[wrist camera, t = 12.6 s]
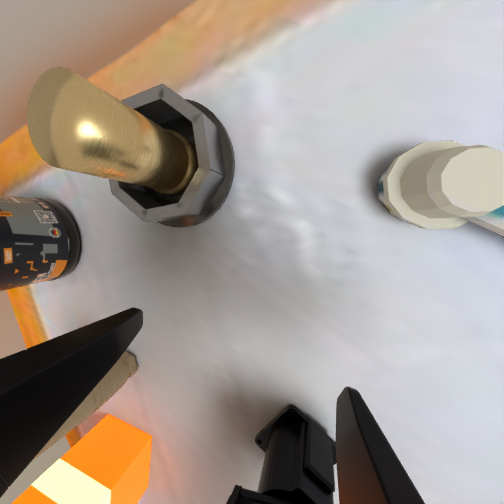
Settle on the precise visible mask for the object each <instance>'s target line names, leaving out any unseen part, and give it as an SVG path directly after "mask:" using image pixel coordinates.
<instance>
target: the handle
mask: <svg viewBox="0 0 504 504" xmlns="http://www.w3.org/2000/svg"><path fill="white" fill-rule="evenodd" d="M135 359H136V358H135V356H134V355H131V354H129V353H128V352H124V353H123V355H122V356H121V357H120V359H119V360H118V361H117V362H116V364H115V365H114V366H113V367H112V368H111V369H110V371H109V372H108V373H107V374H106V375H105V376H104V378H103V379H102V380H101V381H100V382H99V383H98V385H97V386H96V387H95V388H94V389H93V390H92V391H91V393H90V394H89V395H88V396H87V397H86V398H85V400H84V401H83V402H82V403H81V404H80V405H79V407H78V408H77V409H76V410H75V411H74V412H73V414H72V415H71V416H70V417H69V418H68V419H67V421H66V422H65V423H64V424H63V425H62V426H61V427H60V429H59V430H58V431H57V432H56V433H55V434H54V436H53V437H52V438H51V439H50V440H49V441H48V443H47V444H46V445H45V446H44V447H43V448H42V450H41V451H40V452H39V453H38V454H37V455H36V457H38V456H39V455H40V454H42V453H43V452H44V451H45V450H47V449H48V448H49V447H51V446H52V445H53V444H54V443H56V442H57V441H58V440H59V439H61V438H62V437H63V436H65V435H66V434H67V433H68V432H70V431H71V430H72V429H74V428H75V427H76V426H77V425H79V424H80V423H81V422H82V421H84V420H85V419H86V418H88V417H89V416H90V415H91V414H92V413H94V412H95V411H96V410H97V409H98V408H99V407H101V406H102V405H103V404H104V403H105V402H106V401H107V400H109V399H110V397H112V396H113V395H114V394H115V393H116V392H117V391H118V390H119V389H120V388H121V387H122V386H123V385H124V383H125V382H126V381H127V379H128V378H129V377H131V376H132V375H133V374H134V373H135V372H136V371H137V369H138V366H137V364H136V360H135ZM36 457H35V458H36ZM35 458H34V459H35ZM34 459H33V460H34ZM33 460H32V461H33ZM32 461H31V462H32Z"/></svg>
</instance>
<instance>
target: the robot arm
mask: <svg viewBox="0 0 504 504" xmlns="http://www.w3.org/2000/svg"><path fill="white" fill-rule="evenodd" d="M142 325H143V312H142V310H140V309H137V308H130V309H127V310H125V311H122V312H120V313H117V314H115V315H112V316H110V317H107V318H104V319H102V320H99V321H97V322H94V323H92V324H89V325H87V326H84V327H81V328H79V329H76V330H74V331H71V332H69V333H66V334H64V335H61V336H59V337H56V338H53V339H51V340H48V341H46V342H43V343H41V344H38V345H36V346H33V347H30V348H28V349H27V350H23V351H20V352H18V353H15V354H12V355H10V356H7V357H5V358H2V359H0V497H1V496H2V495H3V494H4V493H5V492H6V490H7V489H8V487H9V486H10V485H11V484H12V483H13V482H14V481H15V480H16V479H17V477H18V476H19V475H20V474H21V473H22V472H23V470H24V469H25V468H26V467H27V466H28V465H29V463H30V462H31V461H32V460H33V459H34V458H35V457H36V455H37V454H38V453H39V452H40V451H41V450H42V448H43V447H44V446H45V445H46V444H47V443H48V441H49V440H50V439H51V438H52V437H53V436H54V434H55V433H56V432H57V431H58V430H59V429H60V427H61V426H62V425H63V424H64V423H65V422H66V421H67V419H68V418H69V417H70V416H71V415H72V414H73V412H74V411H75V410H76V409H77V408H78V407H79V405H80V404H81V403H82V402H83V401H84V400H85V398H86V397H87V396H88V395H89V394H90V393H91V391H92V390H93V389H94V388H95V387H96V386H97V385H98V383H99V382H100V381H101V380H102V379H103V378H104V376H105V375H106V374H107V373H108V372H109V371H110V369H111V368H112V367H113V366H114V365H115V364H116V362H117V361H118V360H119V359H120V357H121V356H122V355H123V353H124V352H125V350H126V349H127V348H128V346H129V345H130V343H131V342H132V341H133V339H134V338H135V336H136V335H137V334H138V332H139V331H140V329H141V328H142ZM291 411H293V412H291ZM255 442H256V444H257V445H258V446H259V447H260V448H261V449H262V450H263V451H264V452H265V453H266V454H265V459H264V463H263V468H262V473H261V478H260V482H259V487H258V492H255V491H251V490H247V489H244V488H242V486H238V485H235V487H234V490H233V492H232V494H231V496H230V497H229V499H228V501H227V503H226V504H334V502H333V492H334V491H335V482H334V468H333V465H334V464H336V463H337V475H338V489H339V502H340V504H425V503H424V501H423V499H422V498H421V496H420V494H419V493H418V491H417V489H416V488H415V486H414V484H413V483H412V481H411V479H410V478H409V476H408V474H407V473H406V471H405V469H404V467H403V466H402V464H401V462H400V461H399V459H398V457H397V456H396V454H395V452H394V451H393V449H392V447H391V446H390V444H389V442H388V440H387V439H386V437H385V435H384V434H383V432H382V430H381V429H380V427H379V425H378V424H377V422H376V420H375V419H374V417H373V415H372V414H371V412H370V410H369V408H368V407H367V405H366V403H365V402H364V400H363V398H362V397H361V395H360V393H359V392H358V391H357V390H356V389H353V388H351V387H345V388H344V390H343V391H342V392H341V394H340V395H339V397H338V399H337V407H336V444H335V443H334V442H333V441H332V440H331V439H330V438H329V437H328V436H327V435H325V434H324V433H323V432H322V431H321V430H320V429H319V428H318V427H317V426H316V425H315V424H313V423H312V422H311V421H310V420H309V419H308V418H307V417H306V416H305V415H304V414H303V413H301V412H300V411H299V410H298V409H297V408H296V407H295V406H292V405H290V406H288V407H287V408H286V409H285V410H284V411H283V412H282V413H280V414H279V415H278V416H277V417H276V418H275V419H274V420H273V421H272V422H271V423H269V424H268V425H267V426H266V427H265V428H264V429H263V430H262V431H261V432H260V433H258V434H257V436H256V439H255Z"/></svg>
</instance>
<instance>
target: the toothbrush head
mask: <svg viewBox="0 0 504 504" xmlns="http://www.w3.org/2000/svg"><path fill="white" fill-rule="evenodd" d="M377 185H378V196H379V200H381V201H382V202H383V203H384V205H385V206H386V207H387V208H388V210H389V211H390V212H391V213H390V214H391V215H394V216H396V217H398V218H399V219H401V220H404V221H406V222H408V223H411V224H413V225H415V226H418V227H420V228H424V229H449V228H457V227H459V226H461V225H463V224H465V223H467V222H469V221H471V222H473V223H475V224H477V225H480V226H482V227H484V228H486V229H489V230H491V231H493V232H495V233H497V234H500V235H502V236H504V152H502V151H499V150H497V149H494V148H492V147H488V146H483V145H474V146H465V145H463V144H460V143H458V142H455V141H453V140H449V141H437V142H425V143H421V144H419V145H417V146H415V147H413V148H412V149H410V150H408V151H407V152H405V153H403V154H402V155H400V156H398V157H397V158H395V159H394V160H393V162H392V164H391V165H390V166H389V167H387V168H386V169H385V171H384V173H383V174H382V176H381V178H380V180H379V182H378V183H377Z"/></svg>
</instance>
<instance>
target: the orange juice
mask: <svg viewBox="0 0 504 504" xmlns="http://www.w3.org/2000/svg"><path fill="white" fill-rule="evenodd" d="M151 444H152V436H151V435H149V434H147V433H145V432H143V431H141V430H139V429H137V428H135V427H133V426H131V425H129V424H127V423H125V422H123V421H121V420H119V419H118V418H116V417H114V416H112V415H110V414H108V415H107V416H106V417H104V418H103V419H102V420H101V421H100V422H99V423H98V424H97V425H96V426H95V427H94V428H93V429H92V430H90V431H89V432H88V433H87V434H86V435H85V436H84V437H83V438H82V439H81V440H80V441H79V442H77V443H76V444H75V445H74V446H73V447H72V448H71V449H70V450H69V451H68V452H67V453H66V454H65V455H63V457H61V458H60V459H58V460H57V461H56V462H55V463H54V464H53V465H52V466H51V467H50V468H49V469H48V470H46V471H45V472H44V473H43V474H42V475H41V476H40V477H39V478H38V479H37V480H36V481H35V482H34V483H32V484H31V486H30V487H29V488H28V489H27V490H26V491H25V492H24V493H23V494H21V495H20V496H19V497H18V498H17V499H16V500H15V501H14V502H13V503H12V504H137V503H138V501H139V500H140V498H141V496H142V495H143V493H144V492H145V490H146V489H147V487H148V478H149V467H150V455H151Z"/></svg>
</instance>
